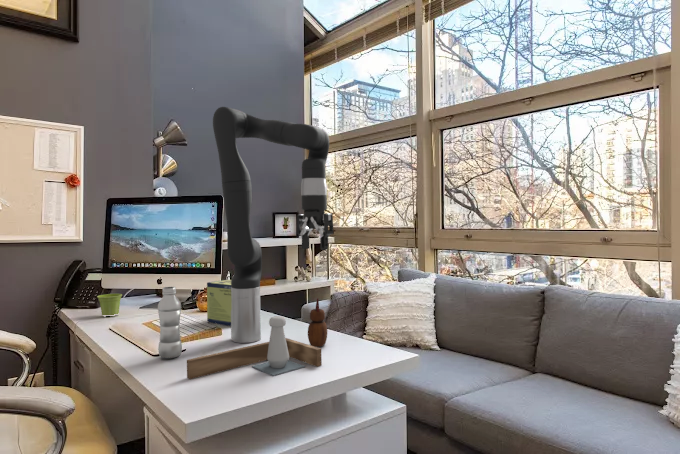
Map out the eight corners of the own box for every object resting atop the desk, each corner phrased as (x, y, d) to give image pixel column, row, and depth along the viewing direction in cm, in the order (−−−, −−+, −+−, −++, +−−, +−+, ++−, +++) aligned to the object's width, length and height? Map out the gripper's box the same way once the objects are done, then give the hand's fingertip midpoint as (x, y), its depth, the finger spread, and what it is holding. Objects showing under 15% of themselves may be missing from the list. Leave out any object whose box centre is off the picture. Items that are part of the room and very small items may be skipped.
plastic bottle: (159, 362, 127) (158, 290, 127) (157, 356, 133) (155, 287, 133) (184, 359, 130) (182, 288, 130) (180, 353, 136) (179, 285, 136)
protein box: (235, 327, 169) (235, 284, 169) (206, 322, 177) (205, 282, 177) (255, 321, 178) (254, 281, 178) (226, 317, 186) (226, 279, 186)
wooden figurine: (324, 348, 138) (323, 299, 138) (305, 348, 139) (305, 298, 139) (329, 343, 145) (328, 295, 145) (311, 342, 146) (311, 295, 146)
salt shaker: (289, 362, 124) (289, 314, 124) (289, 369, 119) (288, 318, 118) (268, 363, 124) (267, 315, 124) (266, 370, 118) (265, 319, 118)
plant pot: (92, 318, 188) (92, 296, 188) (107, 313, 198) (107, 293, 197) (113, 318, 187) (112, 297, 187) (127, 314, 196) (127, 293, 196)
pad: (251, 367, 122) (251, 366, 122) (282, 359, 128) (282, 358, 128) (273, 376, 114) (273, 374, 114) (305, 367, 121) (305, 366, 121)
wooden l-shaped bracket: (187, 377, 114) (186, 359, 114) (286, 353, 134) (285, 337, 134) (218, 395, 102) (217, 375, 102) (321, 365, 122) (321, 348, 122)
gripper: (339, 193, 133) (340, 249, 133) (308, 195, 144) (309, 247, 144) (319, 192, 128) (320, 250, 128) (289, 195, 139) (290, 249, 139)
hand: (314, 249), depth 136 cm, fingers open, 8 cm apart
